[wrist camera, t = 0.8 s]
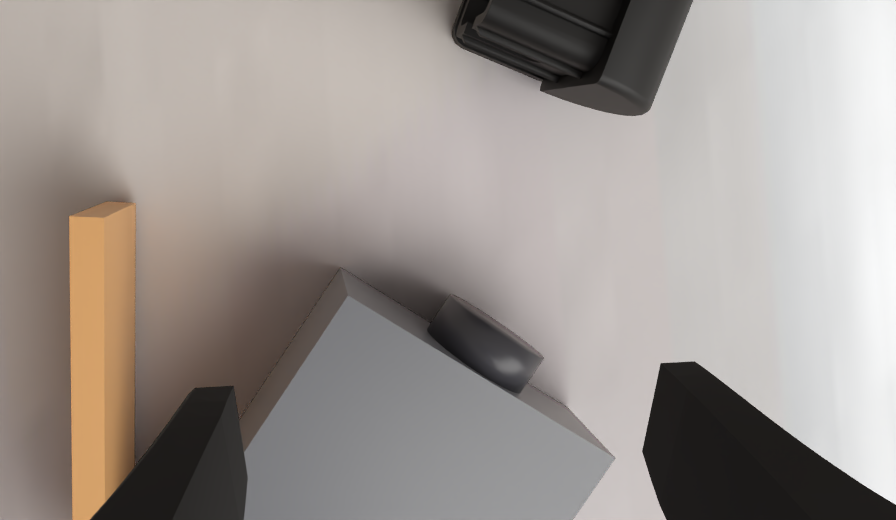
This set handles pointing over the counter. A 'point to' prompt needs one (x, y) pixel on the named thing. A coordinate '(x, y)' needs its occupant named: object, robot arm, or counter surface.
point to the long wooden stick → (102, 352)
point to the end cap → (579, 45)
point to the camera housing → (411, 420)
